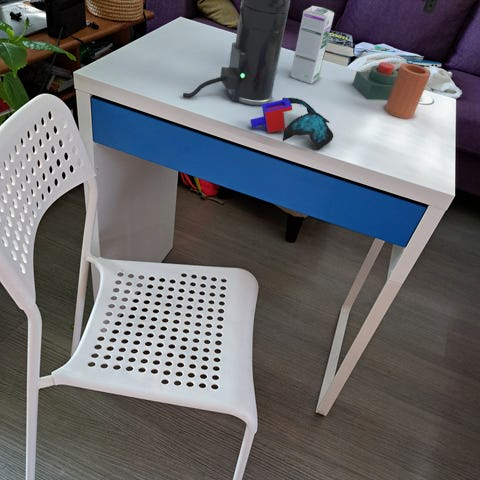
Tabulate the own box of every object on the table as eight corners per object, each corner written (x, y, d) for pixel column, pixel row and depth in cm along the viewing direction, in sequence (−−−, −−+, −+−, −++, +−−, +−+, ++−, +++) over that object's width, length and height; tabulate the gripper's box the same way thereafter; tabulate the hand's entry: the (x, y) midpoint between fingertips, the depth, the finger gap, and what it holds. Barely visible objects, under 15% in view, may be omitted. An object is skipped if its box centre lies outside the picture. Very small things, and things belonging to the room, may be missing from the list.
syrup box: (311, 84, 119) (328, 16, 108) (288, 77, 120) (303, 8, 109) (318, 77, 123) (336, 11, 112) (296, 70, 124) (311, 4, 113)
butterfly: (339, 145, 92) (295, 115, 88) (322, 166, 95) (279, 139, 92) (331, 107, 104) (293, 80, 100) (316, 127, 107) (278, 101, 104)
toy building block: (290, 119, 99) (251, 128, 99) (288, 98, 96) (247, 107, 96) (294, 127, 97) (254, 136, 97) (292, 105, 94) (250, 115, 94)
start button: (381, 75, 117) (383, 67, 116) (374, 69, 119) (376, 61, 118) (394, 76, 118) (397, 68, 117) (387, 70, 120) (389, 62, 119)
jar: (393, 118, 112) (410, 74, 105) (380, 105, 116) (395, 62, 110) (418, 119, 114) (436, 76, 108) (403, 106, 118) (420, 64, 112)
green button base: (367, 98, 118) (374, 77, 114) (352, 84, 123) (359, 63, 119) (402, 100, 121) (410, 78, 118) (387, 86, 126) (394, 65, 123)
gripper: (441, -101, 97) (407, -5, 109) (446, -94, 87) (409, 11, 99) (478, -92, 97) (441, 3, 108) (489, -84, 87) (446, 20, 98)
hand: (426, 7), depth 103 cm, fingers open, 8 cm apart
